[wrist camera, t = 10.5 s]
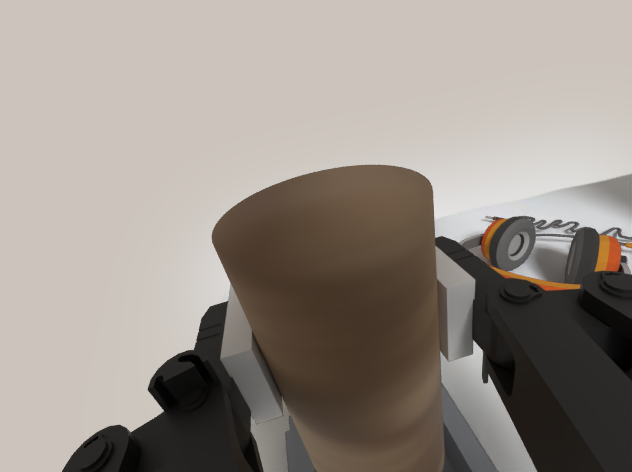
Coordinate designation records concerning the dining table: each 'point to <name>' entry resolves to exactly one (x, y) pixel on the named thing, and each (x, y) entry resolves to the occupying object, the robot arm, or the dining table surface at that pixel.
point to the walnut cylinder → (346, 311)
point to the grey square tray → (459, 444)
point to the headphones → (519, 235)
